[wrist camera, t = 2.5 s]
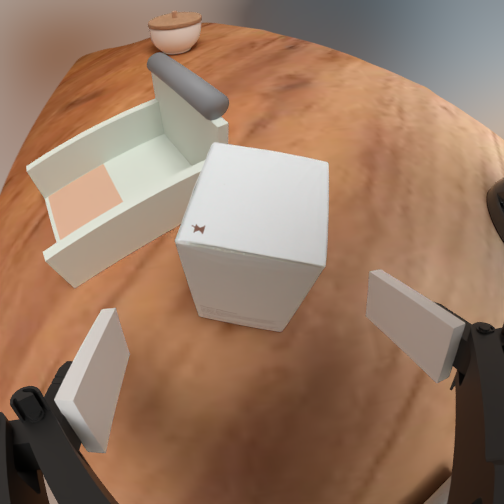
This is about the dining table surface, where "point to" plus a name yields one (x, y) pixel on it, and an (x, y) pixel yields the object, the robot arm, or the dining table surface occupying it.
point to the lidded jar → (175, 31)
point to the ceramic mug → (440, 494)
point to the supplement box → (254, 235)
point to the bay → (129, 172)
